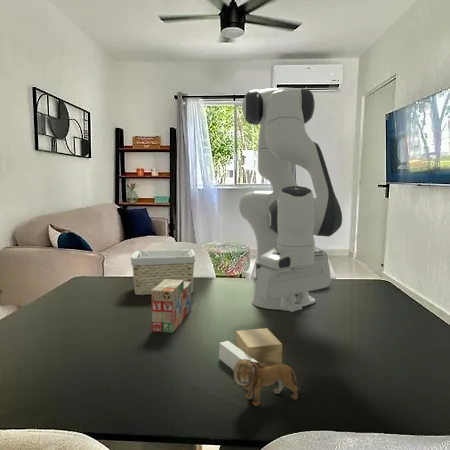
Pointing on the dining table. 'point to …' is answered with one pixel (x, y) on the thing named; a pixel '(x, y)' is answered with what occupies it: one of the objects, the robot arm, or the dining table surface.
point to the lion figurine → (264, 378)
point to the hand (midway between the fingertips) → (295, 310)
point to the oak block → (260, 346)
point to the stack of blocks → (170, 304)
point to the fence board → (231, 354)
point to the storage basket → (161, 268)
